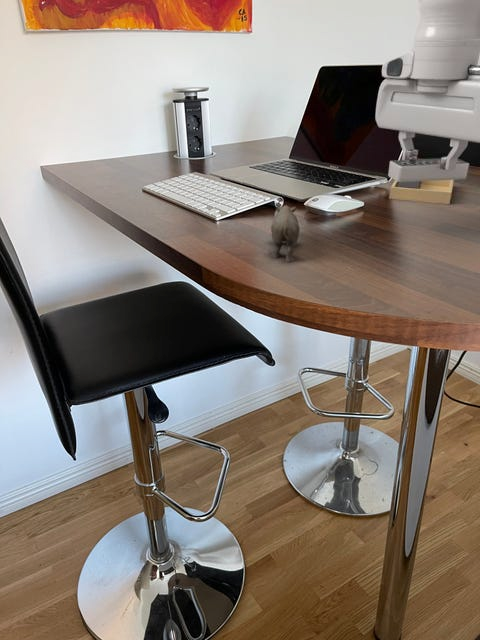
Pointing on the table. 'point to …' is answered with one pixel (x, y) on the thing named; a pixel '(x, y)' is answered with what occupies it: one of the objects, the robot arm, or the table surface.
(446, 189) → the tray
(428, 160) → the multiport hub
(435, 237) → the table surface
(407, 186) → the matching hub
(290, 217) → the rhino figurine
